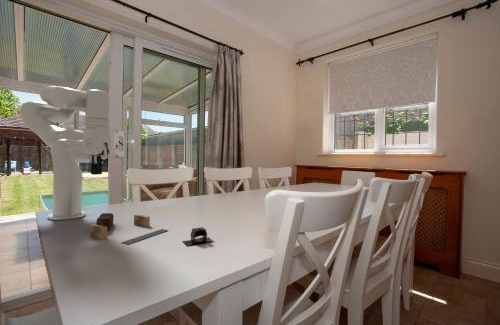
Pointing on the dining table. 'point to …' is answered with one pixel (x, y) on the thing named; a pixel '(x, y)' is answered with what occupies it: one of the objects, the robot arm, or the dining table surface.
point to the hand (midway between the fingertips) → (96, 174)
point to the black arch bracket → (198, 241)
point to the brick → (105, 220)
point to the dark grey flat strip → (144, 236)
